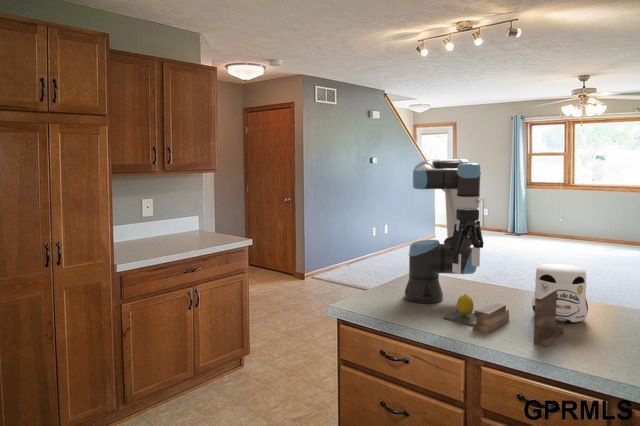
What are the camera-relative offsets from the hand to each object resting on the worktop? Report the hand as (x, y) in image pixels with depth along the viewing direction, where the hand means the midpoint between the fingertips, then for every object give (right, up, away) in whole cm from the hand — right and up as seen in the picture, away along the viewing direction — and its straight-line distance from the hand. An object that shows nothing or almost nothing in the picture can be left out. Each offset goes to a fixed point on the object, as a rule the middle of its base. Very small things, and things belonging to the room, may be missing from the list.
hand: (466, 269), depth 165 cm
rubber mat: (0, -17, +2) cm, 18 cm away
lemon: (0, -17, +2) cm, 17 cm away
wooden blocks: (+14, -19, -12) cm, 26 cm away
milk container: (+32, -18, 0) cm, 36 cm away
